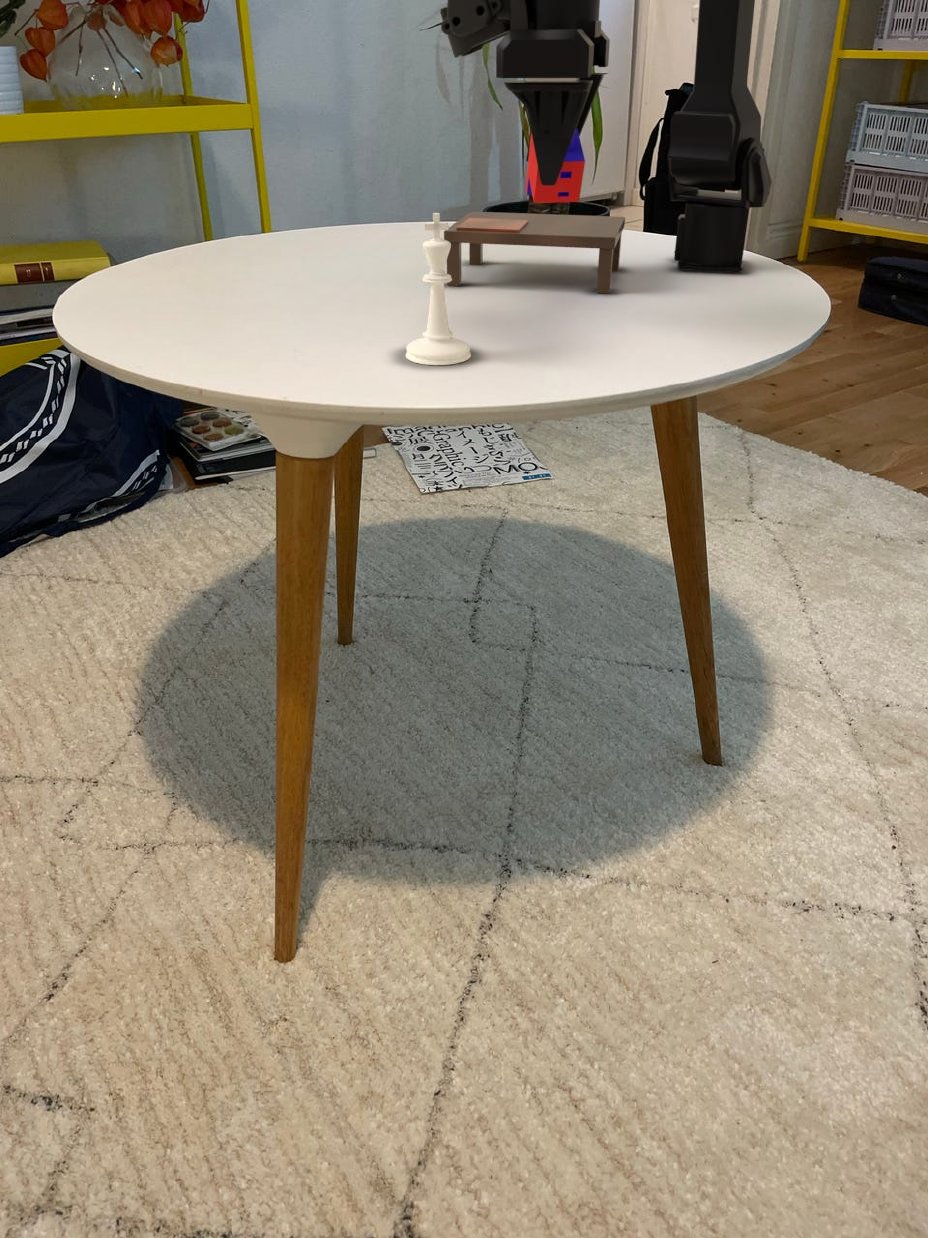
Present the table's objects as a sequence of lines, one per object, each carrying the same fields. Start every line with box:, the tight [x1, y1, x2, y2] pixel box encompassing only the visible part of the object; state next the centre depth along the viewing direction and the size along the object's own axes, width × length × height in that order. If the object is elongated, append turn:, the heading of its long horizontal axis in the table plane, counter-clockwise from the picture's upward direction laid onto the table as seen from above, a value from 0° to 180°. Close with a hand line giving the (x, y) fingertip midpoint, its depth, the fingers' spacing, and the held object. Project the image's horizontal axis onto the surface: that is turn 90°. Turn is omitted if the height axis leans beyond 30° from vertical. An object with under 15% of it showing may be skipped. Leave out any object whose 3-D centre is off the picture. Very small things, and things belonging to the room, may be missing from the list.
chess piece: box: [405, 212, 472, 366], centre depth 70 cm, size 5×5×10 cm
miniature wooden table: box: [443, 211, 626, 295], centre depth 95 cm, size 16×12×5 cm
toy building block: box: [525, 128, 586, 204], centre depth 74 cm, size 4×4×8 cm
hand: (553, 178), depth 75 cm, fingers closed on toy building block, 6 cm apart
